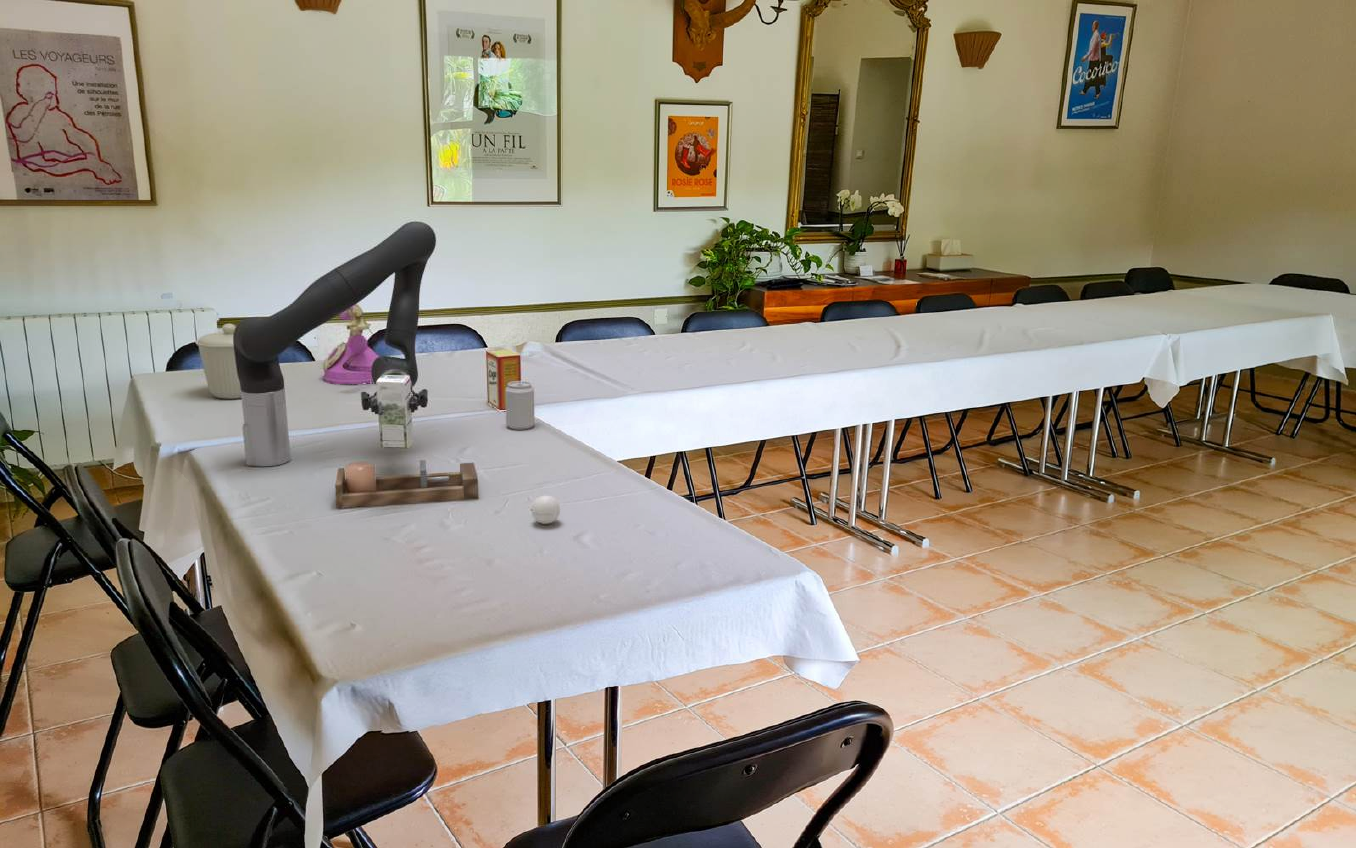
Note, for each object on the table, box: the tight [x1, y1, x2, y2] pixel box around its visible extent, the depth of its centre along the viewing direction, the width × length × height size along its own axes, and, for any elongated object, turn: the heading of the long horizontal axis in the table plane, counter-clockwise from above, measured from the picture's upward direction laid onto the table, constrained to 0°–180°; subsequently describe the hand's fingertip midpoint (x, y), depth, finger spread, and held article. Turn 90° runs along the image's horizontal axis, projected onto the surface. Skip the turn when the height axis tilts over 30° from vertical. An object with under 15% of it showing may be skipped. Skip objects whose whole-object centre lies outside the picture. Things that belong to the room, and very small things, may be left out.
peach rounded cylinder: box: [344, 461, 378, 494], centre depth 202 cm, size 6×6×7 cm
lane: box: [334, 462, 479, 509], centre depth 205 cm, size 28×11×5 cm, turn 106°
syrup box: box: [375, 375, 414, 450], centre depth 200 cm, size 6×6×14 cm
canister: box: [194, 323, 242, 400], centre depth 281 cm, size 18×18×21 cm
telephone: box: [322, 303, 380, 385], centre depth 301 cm, size 36×22×25 cm, turn 25°
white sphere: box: [530, 494, 561, 525], centre depth 190 cm, size 8×6×6 cm
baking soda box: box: [485, 348, 522, 410], centre depth 276 cm, size 10×6×16 cm
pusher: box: [419, 459, 449, 489], centre depth 206 cm, size 6×7×6 cm
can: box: [505, 380, 536, 431], centre depth 256 cm, size 8×8×12 cm
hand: (394, 408), depth 198 cm, fingers closed on syrup box, 6 cm apart
